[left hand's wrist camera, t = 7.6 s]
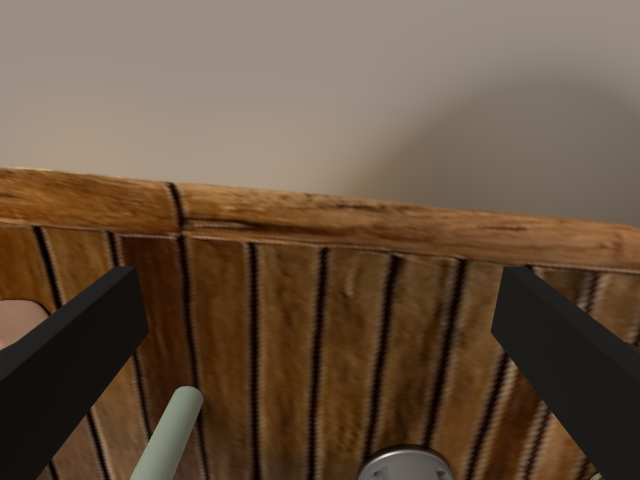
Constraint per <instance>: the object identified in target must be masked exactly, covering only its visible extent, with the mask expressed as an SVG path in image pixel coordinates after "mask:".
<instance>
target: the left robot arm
mask: <svg viewBox="0 0 640 480" xmlns="http://www.w3.org/2000/svg"><path fill="white" fill-rule="evenodd" d="M148 333H149V328H148V323H147V318H146V313H145V308H144V303H143V298H142V293H141V288H140V284H139V279H138V274H137V269H136V267H114V268H112V269H111V270H110V271H108V272H107V273H106V274H104V275H103V276H102V277H100V278H99V279H98V280H97V281H95V282H94V283H93V284H91V285H90V286H89V287H87V288H86V289H85V290H83V291H82V292H81V293H79V294H78V295H77V296H76V297H74V298H73V299H72V300H70V301H69V302H68V303H66V304H65V305H64V306H62V307H61V308H60V309H58V310H57V311H56V312H55V313H53V314H52V315H51V316H49V317H48V318H47V319H45V320H44V321H43V322H41V323H40V324H39V325H37V326H36V327H35V328H34V329H32V330H31V331H30V332H28V333H27V334H26V335H24V336H23V337H22V338H20V339H19V340H18V341H16V342H15V343H13V344H11V345H9V346H7V347H5V348H3V349H1V350H0V480H36V479H37V477H38V476H39V475H40V473H41V472H42V471H43V469H44V468H45V467H46V466H47V464H48V463H49V462H50V460H51V459H52V458H53V456H54V455H55V454H56V453H57V451H58V450H59V449H60V447H61V446H62V445H63V443H64V442H65V441H66V440H67V438H68V437H69V436H70V434H71V433H72V432H73V431H74V429H75V428H76V427H77V425H78V424H79V423H80V421H81V420H82V419H83V418H84V416H85V415H86V414H87V412H88V411H89V410H90V408H91V407H92V406H93V405H94V403H95V402H96V401H97V399H98V398H99V397H100V395H101V394H102V393H103V392H104V390H105V389H106V388H107V386H108V385H109V384H110V382H111V381H112V380H113V379H114V377H115V376H116V375H117V373H118V372H119V371H120V369H121V368H122V367H123V366H124V364H125V363H126V362H127V360H128V359H129V358H130V356H131V355H132V354H133V353H134V351H135V350H136V349H137V347H138V346H139V345H140V343H141V342H142V341H143V340H144V338H145V337H146V336H147V334H148ZM491 333H492V334H493V336H494V337H495V338H496V340H497V341H498V342H499V343H500V345H501V346H502V347H503V349H504V350H505V351H506V353H507V354H508V355H509V356H510V358H511V359H512V360H513V362H514V363H515V364H516V366H517V367H518V368H519V369H520V371H521V372H522V373H523V375H524V376H525V377H526V379H527V380H528V381H529V382H530V384H531V385H532V386H533V388H534V389H535V390H536V392H537V393H538V394H539V395H540V397H541V398H542V399H543V401H544V402H545V403H546V405H547V406H548V407H549V408H550V410H551V411H552V412H553V414H554V415H555V416H556V418H557V419H558V420H559V421H560V423H561V424H562V425H563V427H564V428H565V429H566V431H567V432H568V433H569V434H570V436H571V437H572V438H573V440H574V441H575V442H576V443H577V445H578V446H579V447H580V449H581V450H582V451H583V453H584V454H585V455H586V456H587V458H588V459H589V460H590V462H591V463H592V464H593V466H594V467H595V468H596V469H597V471H598V472H599V473H600V475H601V476H602V477H603V479H604V480H640V348H638V347H636V346H634V345H632V344H630V343H628V342H624V341H622V340H621V339H620V338H618V337H617V336H616V335H614V334H613V333H612V332H610V331H609V330H608V329H606V328H605V327H604V326H603V325H601V324H600V323H599V322H597V321H596V320H595V319H593V318H592V317H591V316H589V315H588V314H587V313H585V312H584V311H583V310H582V309H580V308H579V307H578V306H576V305H575V304H574V303H572V302H571V301H570V300H568V299H567V298H566V297H564V296H563V295H562V294H561V293H559V292H558V291H557V290H555V289H554V288H553V287H551V286H550V285H549V284H547V283H546V282H545V281H543V280H542V279H541V278H540V277H538V276H537V275H536V274H534V273H533V272H532V271H530V270H529V269H528V268H526V267H504V269H503V274H502V279H501V284H500V288H499V293H498V298H497V303H496V308H495V313H494V318H493V323H492V328H491ZM356 480H454V478H453V474H452V472H451V469H450V466H449V464H448V463H447V461H446V460H445V459H444V458H443V457H442V456H441V455H440V454H439V453H437V452H435V451H434V450H431V449H429V448H426V447H422V446H417V445H398V446H393V447H389V448H386V449H383V450H380V451H378V452H376V453H375V454H373V455H371V456H370V457H369V458H368V459H367V460H365V461H364V463H363V464H362V465H361V467H360V468H359V470H358V473H357V476H356Z"/></svg>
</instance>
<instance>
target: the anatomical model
mask: <svg viewBox="0 0 640 480" xmlns="http://www.w3.org/2000/svg"><path fill="white" fill-rule="evenodd" d="M48 317H49V316H48V314H47V313H46V312H45V310H44V309H43V308H42V307H41V306H40V305H38V304H37V303H35V302H32V301H27V300H3V301H0V350H1V349H3V348H5V347H7V346H9V345H11V344H13V343H15V342H16V341H18V340H19V339H20V338H22V337H23V336H24V335H26V334H27V333H28V332H30V331H31V330H32V329H34V328H35V327H36V326H37V325H39V324H40V323H41V322H43V321H44V320H45V319H47V318H48Z"/></svg>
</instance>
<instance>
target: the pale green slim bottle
mask: <svg viewBox="0 0 640 480" xmlns="http://www.w3.org/2000/svg"><path fill="white" fill-rule="evenodd" d="M202 404H203V395H202V393H201V392H200V391H199V390H198V389H196V388H194V387H190V386H184V387H180V388H178V389H177V390H176V391H175V392H174V394H173V396H172V398H171V400H170V402H169V404H168V406H167V408H166V410H165V412H164V414H163V416H162V418H161V420H160V421H159V423H158V425H157V427H156V429H155V431H154V433H153V435H152V437H151V439H150V441H149V443H148V445H147V447H146V449H145V451H144V453H143V454H142V456H141V458H140V460H139V462H138V464H137V466H136V468H135V470H134V472H133V474H132V476H131V478H130V480H172V478H173V476H174V473H175V471H176V468H177V466H178V464H179V461H180V459H181V456H182V454H183V451H184V449H185V446H186V444H187V441H188V439H189V436H190V434H191V431H192V429H193V426H194V424H195V421H196V419H197V416H198V414H199V411H200V409H201V406H202Z"/></svg>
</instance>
